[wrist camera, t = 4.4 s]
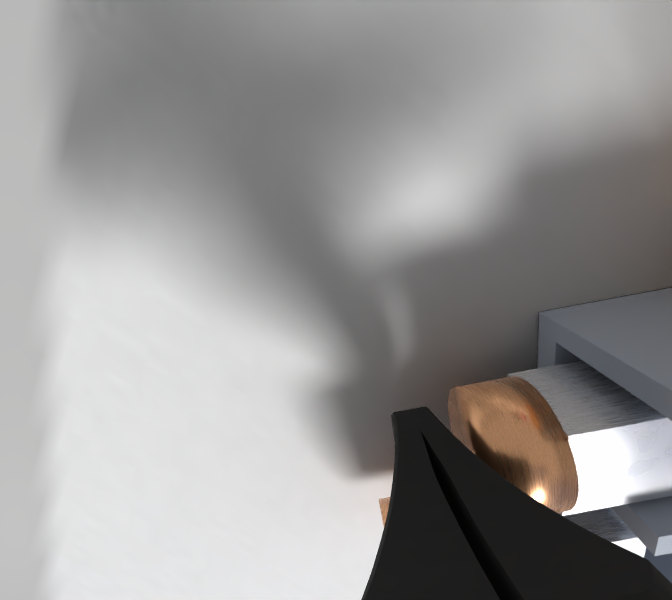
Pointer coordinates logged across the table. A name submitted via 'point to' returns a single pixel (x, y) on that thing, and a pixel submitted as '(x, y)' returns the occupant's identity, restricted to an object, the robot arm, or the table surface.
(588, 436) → the knob
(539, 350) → the mount
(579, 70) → the table surface
